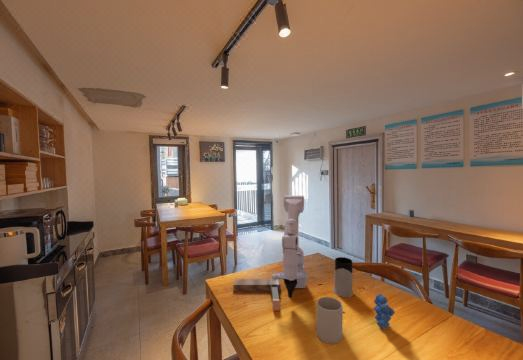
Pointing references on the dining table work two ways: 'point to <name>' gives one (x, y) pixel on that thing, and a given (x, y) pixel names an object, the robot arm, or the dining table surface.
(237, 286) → the rail
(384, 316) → the grapes
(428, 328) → the dining table surface
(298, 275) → the robot arm
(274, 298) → the stool leg
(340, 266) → the glass holder
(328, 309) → the mug
